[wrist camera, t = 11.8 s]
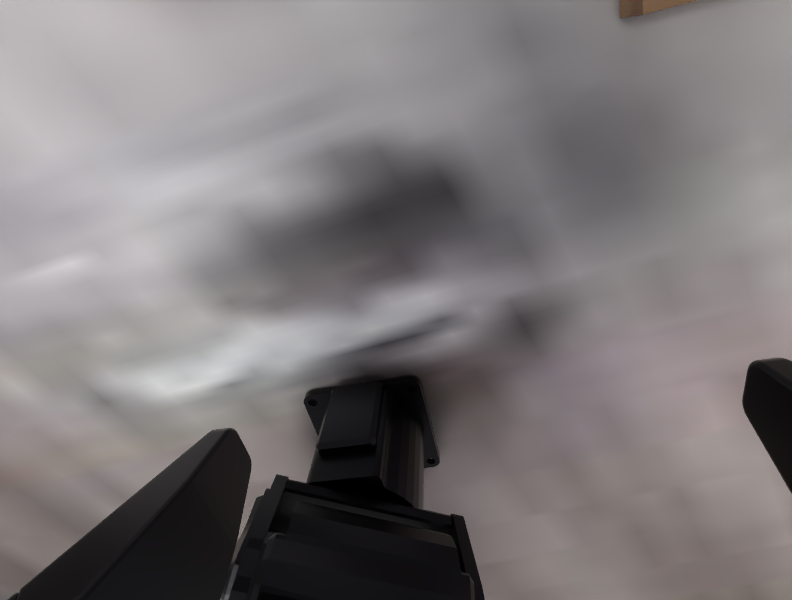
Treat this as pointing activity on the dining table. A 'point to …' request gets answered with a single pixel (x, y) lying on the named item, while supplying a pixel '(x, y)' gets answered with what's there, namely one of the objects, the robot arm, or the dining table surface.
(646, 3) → the tower base
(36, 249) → the dining table surface
